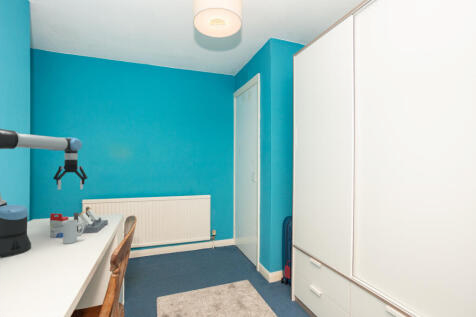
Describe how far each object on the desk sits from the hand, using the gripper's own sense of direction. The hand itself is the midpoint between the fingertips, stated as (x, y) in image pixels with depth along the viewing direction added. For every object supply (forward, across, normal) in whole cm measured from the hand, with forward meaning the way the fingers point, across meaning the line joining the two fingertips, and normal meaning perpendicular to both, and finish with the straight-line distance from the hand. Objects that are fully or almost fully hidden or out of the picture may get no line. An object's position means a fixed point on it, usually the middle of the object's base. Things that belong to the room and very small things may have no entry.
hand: (70, 189), depth 161 cm
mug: (+27, -15, +33) cm, 45 cm away
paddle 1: (+24, -18, +13) cm, 32 cm away
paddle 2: (+23, -18, +2) cm, 30 cm away
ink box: (+27, -2, +21) cm, 34 cm away
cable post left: (+27, -8, +13) cm, 31 cm away
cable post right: (+27, -9, -11) cm, 30 cm away
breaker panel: (+27, -18, +7) cm, 33 cm away
